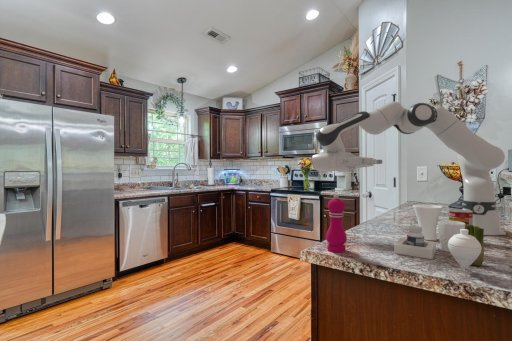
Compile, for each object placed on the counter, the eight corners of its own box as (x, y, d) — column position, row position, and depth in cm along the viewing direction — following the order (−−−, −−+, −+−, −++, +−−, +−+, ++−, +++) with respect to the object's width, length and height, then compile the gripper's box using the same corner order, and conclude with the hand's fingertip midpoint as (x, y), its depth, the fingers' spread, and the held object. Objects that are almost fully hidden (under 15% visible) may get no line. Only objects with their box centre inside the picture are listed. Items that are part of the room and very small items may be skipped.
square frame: (400, 245, 107) (400, 237, 107) (435, 251, 100) (435, 242, 100) (394, 253, 98) (394, 244, 98) (432, 259, 91) (432, 249, 91)
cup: (448, 240, 115) (448, 207, 114) (429, 242, 111) (429, 208, 111) (425, 234, 124) (425, 203, 124) (407, 236, 121) (407, 205, 121)
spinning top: (452, 274, 78) (452, 231, 78) (444, 265, 85) (444, 225, 85) (486, 278, 76) (486, 233, 75) (475, 268, 83) (475, 227, 83)
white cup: (457, 255, 96) (457, 225, 96) (433, 249, 103) (433, 221, 103) (470, 251, 100) (470, 223, 99) (446, 246, 107) (446, 219, 106)
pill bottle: (403, 250, 102) (403, 225, 102) (417, 249, 102) (417, 225, 102) (413, 254, 97) (413, 228, 96) (427, 254, 97) (427, 228, 97)
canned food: (449, 236, 121) (449, 208, 121) (472, 239, 116) (472, 210, 116) (448, 240, 114) (448, 210, 114) (473, 243, 110) (473, 212, 110)
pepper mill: (348, 253, 98) (347, 195, 98) (326, 252, 99) (326, 195, 99) (345, 247, 105) (345, 193, 105) (325, 246, 106) (325, 193, 106)
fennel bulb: (486, 268, 83) (486, 227, 83) (466, 266, 85) (466, 226, 85) (480, 262, 88) (480, 223, 88) (460, 260, 90) (461, 222, 90)
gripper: (337, 154, 119) (372, 153, 110) (353, 155, 135) (385, 154, 126) (337, 169, 119) (372, 169, 110) (353, 169, 135) (385, 168, 126)
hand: (379, 161), depth 118 cm, fingers open, 8 cm apart
